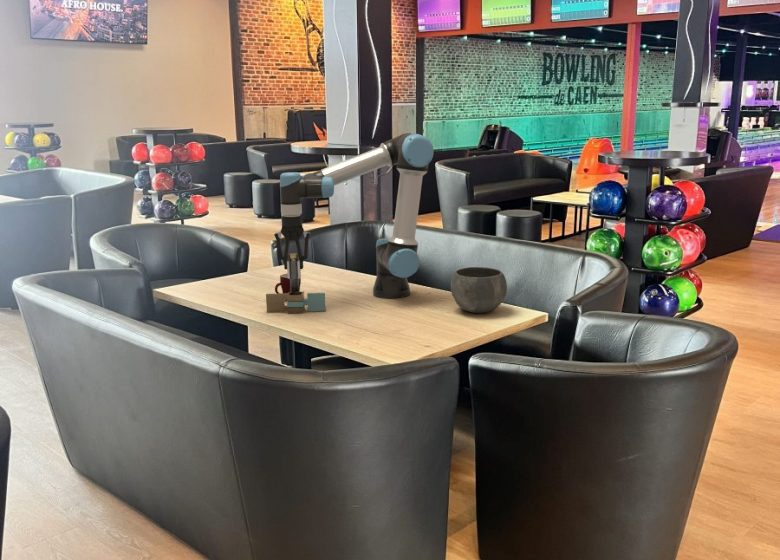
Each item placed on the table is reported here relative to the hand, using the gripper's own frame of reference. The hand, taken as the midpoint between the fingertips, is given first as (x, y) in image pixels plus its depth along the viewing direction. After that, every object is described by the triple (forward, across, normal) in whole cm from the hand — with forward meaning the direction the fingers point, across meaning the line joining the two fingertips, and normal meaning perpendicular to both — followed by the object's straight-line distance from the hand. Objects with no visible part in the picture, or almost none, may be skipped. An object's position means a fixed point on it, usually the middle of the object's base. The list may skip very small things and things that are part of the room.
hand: (294, 277), depth 288 cm
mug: (+13, +5, -17) cm, 22 cm away
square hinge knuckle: (+13, +4, 0) cm, 14 cm away
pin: (+5, 0, 0) cm, 5 cm away
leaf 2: (+13, -4, 0) cm, 14 cm away
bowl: (+13, -68, +4) cm, 70 cm away
